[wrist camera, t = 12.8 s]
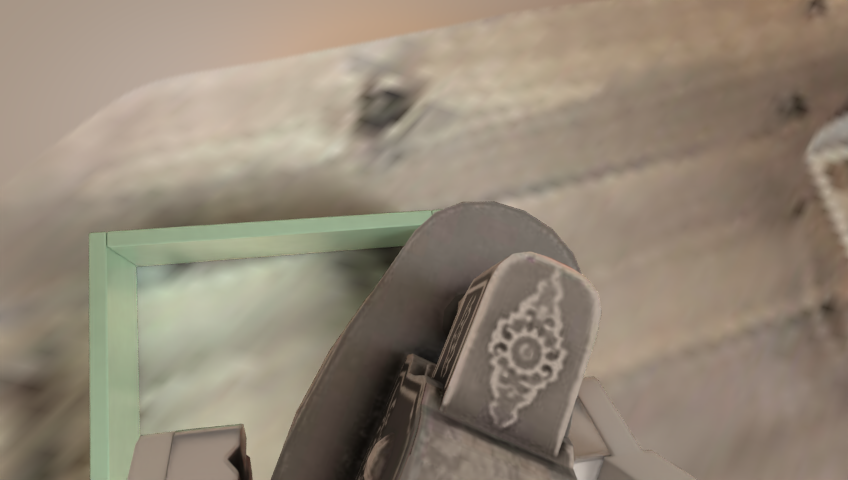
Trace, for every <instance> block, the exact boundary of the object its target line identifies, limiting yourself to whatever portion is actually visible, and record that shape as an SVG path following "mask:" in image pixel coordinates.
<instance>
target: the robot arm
mask: <svg viewBox="0 0 848 480" xmlns="http://www.w3.org/2000/svg"><path fill="white" fill-rule="evenodd" d="M568 438H569V439H570V441H571V443H572V445H573V451H574V466H573V469H574V472H575V475H576V477H577V480H697V479H696V478H694V477H693V476H691V475H690V474H688V473H686V472H685V471H683V470H682V469H680V468H679V467H677V466H675V465H674V464H672V463H671V462H669V461H668V460H666V459H665V458H663V457H661V456H660V455H658V454H657V453H655V452H654V451H652V450H646V451H643V450H642V449H641V447H640V445H639V444H638V442H637V441H636V439H635V437H634V436H633V434H632V433H631V431H630V430H629V428H628V426H627V425H626V423H625V422H624V420H623V418H622V417H621V415H620V414H619V412H618V410H617V409H616V407H615V406H614V404H613V402H612V401H611V399H610V398H609V396H608V395H607V393H606V391H605V390H604V388H603V387H602V385H601V383H600V382H599V380H597V379H596V378H595V377H593V376H592V377H584V378H583V380H582V383H581V386H580V389H579V392H578V395H577V398H576V401H575V404H574V407H573V415H572V422H571V427H570V431H569V435H568ZM246 439H247V438H246V434H245V429H244V425H243V424H235V425H226V426H216V427H207V428H198V429H188V430H179V431H173V432H164V433H155V434H147V435H141V436H140V438H139V439H138V441H137V443H136V445H135V448H134V453H133V457H132V461H131V466H130V470H129V474H128V479H127V480H253V479H252V469H251V462H250V457H249V456H247V455H246Z"/></svg>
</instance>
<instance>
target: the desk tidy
mask: <svg viewBox="0 0 848 480" xmlns="http://www.w3.org/2000/svg"><path fill="white" fill-rule="evenodd" d="M440 210H442V209H438V210H432V211H431V210H423V211H408V212H393V213H378V214H363V215H347V216H332V217H317V218H302V219H287V220H272V221H257V222H242V223H227V224H212V225H197V226H182V227H167V228H152V229H136V230H121V231H108V232H92V233H89V391H90V480H127V479H128V474H129V470H130V466H131V461H132V457H133V453H134V448H135V445H136V443H137V441H138V439H139V438H140V414H139V368H138V321H137V274H136V266H137V267H141V266H153V265H166V264H179V263H192V262H205V261H217V260H230V259H243V258H256V257H269V256H281V255H294V254H307V253H320V252H333V251H345V250H358V249H371V248H384V247H397V246H404V245H405V244H406V242H407V241H408V240H409V238H410V237H411V235H412V234H413V233H414V231H415V230H416V229H417V228H418V227H420V226H421V225H422V224H423V223H424V222H425V221H426V220H427V219H428V218H429V217H430V216H432V215H433V214H434V213H435V212H437V211H440Z"/></svg>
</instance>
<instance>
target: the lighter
mask: <svg viewBox="0 0 848 480" xmlns="http://www.w3.org/2000/svg"><path fill="white" fill-rule="evenodd" d="M601 313H602V310H601V304H600V299H599V293H598V292H597V290H596V289H595V287H594V286H593V285H592V283H591V282H590V280H589V279H588V278H587V277H585V276H584V275H582V273H581V270H580V268H579V266H578V263H577V261H576V259H575V256H574V254H573V252H572V251H571V250H570V249H569V248H568V247H567V245H566V244H565V243H564V242H563V241H562V240H561V238H560V237H559V236H558V235H557V234H556V233H555V231H554V230H553V229H552V228H550V227H549V226H547V225H546V224H544V223H543V222H541V221H540V220H538V219H537V218H535V217H533V216H532V215H530V214H529V213H527V212H526V211H524V210H520V209H517V208H514V207H510V206H507V205H504V204H500V203H497V202H461V203H459V204H456V205H453V206H451V207H448V208H445V209H442V210H440V211H437V212H435V213H434V214H433V215H432V216H430V217H429V218H428V219H427V220H426V221H425V222H424V223H423V224H422V225H421V226H420V227H418V228H417V229H416V230H415V231H414V233H413V234H412V235H411V237H410V238H409V240H408V241H407V242H406V244H405V245H404V247H403V248H402V250H401V251H400V252H399V254H398V255H397V257H396V258H395V260H394V261H393V262H392V264H391V265H390V267H389V268H388V270H387V271H386V272H385V274H384V275H383V277H382V278H381V280H380V281H379V282H378V284H377V285H376V287H375V288H374V290H373V291H372V292H371V293H370V294H369V295H368V297H367V298H366V299H365V301H364V302H363V304H362V305H361V307H360V308H359V309H358V311H357V312H356V314H355V315H354V317H353V318H352V319H351V321H350V322H349V324H348V325H347V326H346V328H345V329H344V331H343V332H342V334H341V335H340V336H339V338H338V339H337V341H336V342H335V344H334V345H333V346H332V348H331V349H330V351H329V353H328V354H327V356H326V358H325V360H324V362H323V364H322V366H321V367H320V369H319V371H318V373H317V375H316V377H315V378H314V380H313V382H312V384H311V386H310V388H309V390H308V391H307V393H306V395H305V397H304V399H303V401H302V403H301V404H300V406H299V408H298V410H297V412H296V414H295V417H294V420H293V422H292V425H291V428H290V430H289V433H288V436H287V438H286V441H285V443H284V446H283V449H282V451H281V454H280V457H279V459H278V462H277V465H276V467H275V470H274V472H273V475H272V478H271V480H577V477H576V475H575V472H574V469H573V466H574V451H573V445H572V443H571V441H570V439H569V438H568V435H569V431H570V427H571V422H572V415H573V407H574V404H575V401H576V398H577V395H578V392H579V389H580V386H581V383H582V380H583V377H584V374H585V371H586V367H587V364H588V361H589V358H590V355H591V352H592V349H593V346H594V343H595V340H596V337H597V334H598V329H599V323H600V318H601Z"/></svg>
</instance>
